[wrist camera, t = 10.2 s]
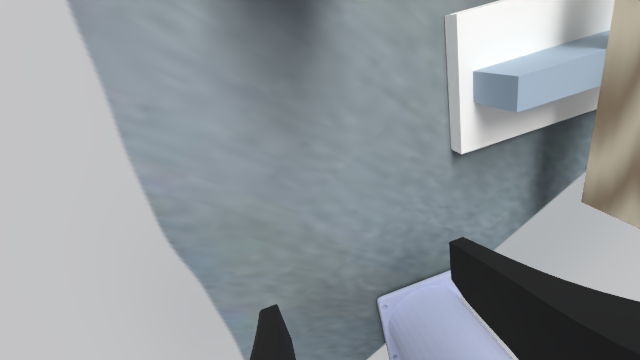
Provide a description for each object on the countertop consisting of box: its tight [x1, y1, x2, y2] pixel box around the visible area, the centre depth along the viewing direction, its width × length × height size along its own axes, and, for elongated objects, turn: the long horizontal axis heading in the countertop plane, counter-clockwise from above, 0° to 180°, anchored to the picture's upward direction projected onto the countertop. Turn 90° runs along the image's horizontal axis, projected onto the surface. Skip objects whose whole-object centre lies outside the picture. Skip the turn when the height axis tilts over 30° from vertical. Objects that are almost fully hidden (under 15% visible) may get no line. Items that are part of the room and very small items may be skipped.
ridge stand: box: [445, 0, 615, 154], centre depth 20 cm, size 9×16×5 cm, turn 104°
